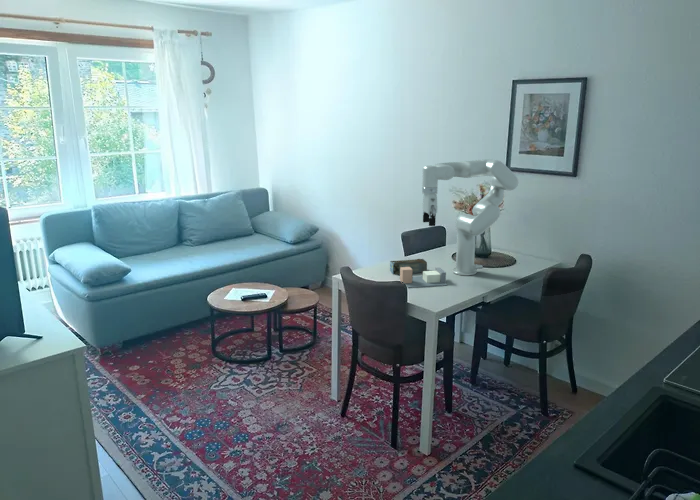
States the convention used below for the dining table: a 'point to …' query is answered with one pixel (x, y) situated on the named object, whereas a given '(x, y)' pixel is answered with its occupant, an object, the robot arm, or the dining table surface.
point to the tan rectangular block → (406, 274)
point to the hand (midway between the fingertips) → (429, 224)
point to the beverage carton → (408, 265)
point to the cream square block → (434, 276)
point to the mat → (423, 283)
